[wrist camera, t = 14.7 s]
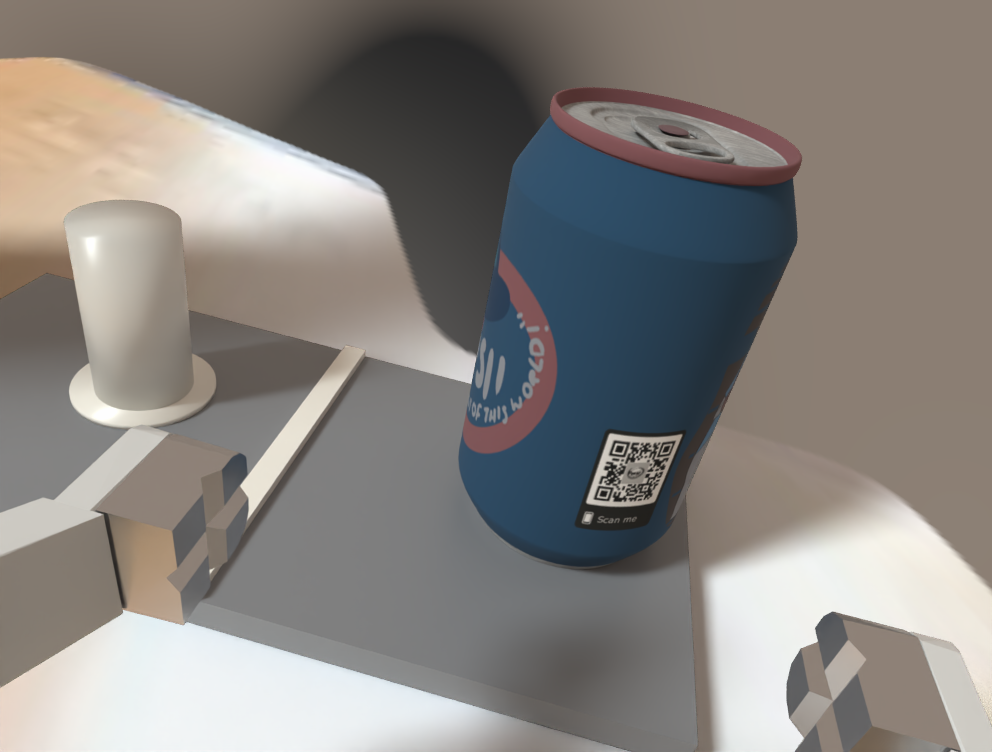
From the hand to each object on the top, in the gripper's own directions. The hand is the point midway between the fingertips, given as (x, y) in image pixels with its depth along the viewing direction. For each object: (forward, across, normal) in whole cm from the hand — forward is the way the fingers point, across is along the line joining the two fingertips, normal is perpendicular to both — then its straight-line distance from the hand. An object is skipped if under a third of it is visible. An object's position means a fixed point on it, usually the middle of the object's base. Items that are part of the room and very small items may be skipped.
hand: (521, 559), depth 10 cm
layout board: (+9, +8, +9) cm, 15 cm away
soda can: (+10, -1, +8) cm, 13 cm away
